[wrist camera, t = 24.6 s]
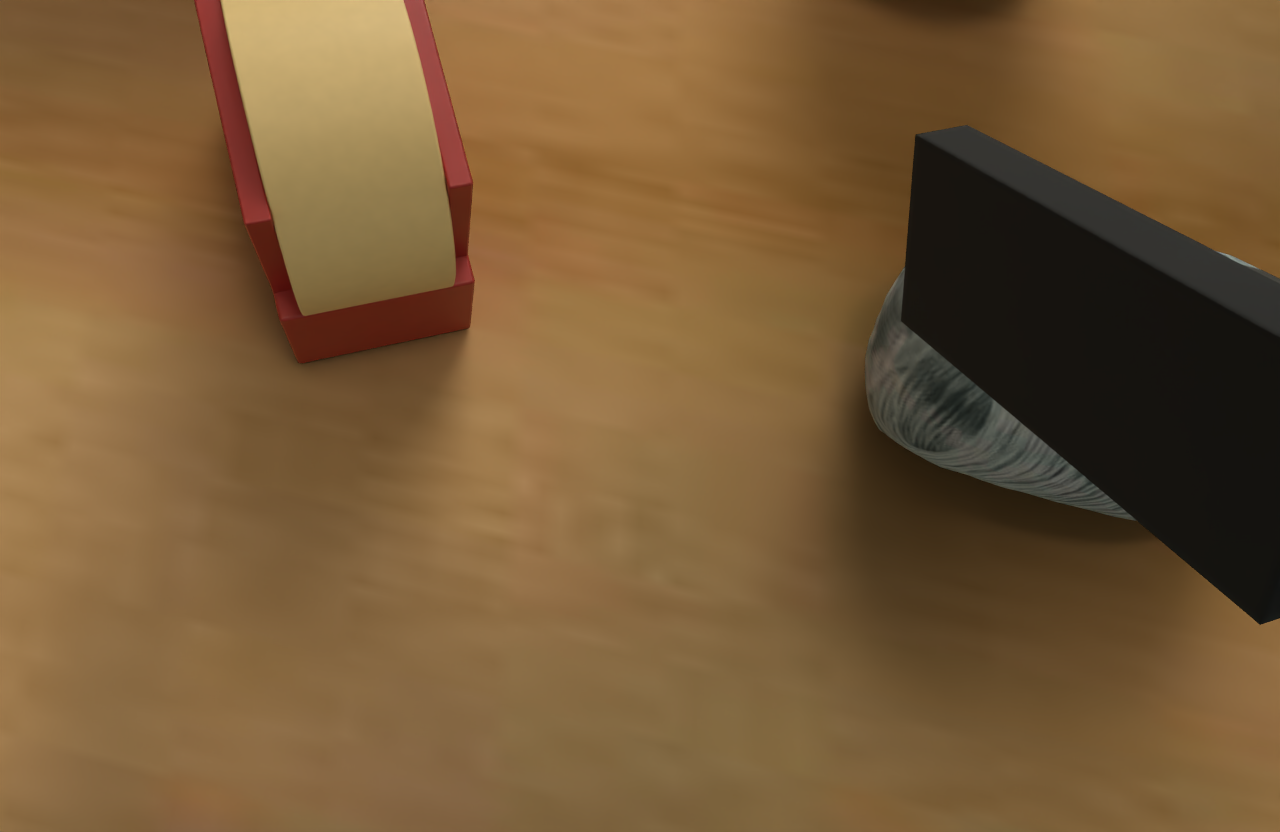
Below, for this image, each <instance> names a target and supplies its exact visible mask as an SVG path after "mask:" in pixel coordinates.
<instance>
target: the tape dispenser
mask: <svg viewBox="0 0 1280 832" xmlns="http://www.w3.org/2000/svg"><path fill="white" fill-rule="evenodd" d="M194 2H195V7H196V11H197V16H198V20H199V25H200V29H201V34H202V38H203V43H204V47H205V52H206V56H207V61H208V65H209V69H210V74H211V78H212V83H213V87H214V92H215V96H216V101H217V105H218V110H219V114H220V119H221V123H222V128H223V132H224V136H225V141H226V145H227V150H228V154H229V159H230V163H231V168H232V172H233V177H234V181H235V186H236V190H237V195H238V199H239V203H240V208H241V212H242V217H243V221H244V225H245V227H246V230H247V232H248V234H249V237H250V239H251V241H252V244H253V246H254V249H255V251H256V253H257V256H258V258H259V260H260V263H261V265H262V267H263V270H264V272H265V275H266V277H267V279H268V282H269V284H270V286H271V289H272V291H273V294H274V299H275V303H276V308H277V312H278V317H279V320H280V323H281V325H282V327H283V329H284V332H285V334H286V336H287V339H288V341H289V343H290V346H291V348H292V350H293V352H294V355H295V357H296V359H297V361H298V363H305V362H310V361H315V360H319V359H324V358H329V357H334V356H338V355H343V354H348V353H353V352H357V351H362V350H367V349H372V348H377V347H381V346H386V345H391V344H396V343H400V342H405V341H410V340H415V339H419V338H424V337H429V336H434V335H438V334H443V333H448V332H453V331H457V330H462V329H467V328H469V327H470V323H471V312H472V302H473V292H474V281H475V280H474V276H473V273H472V269H471V265H470V261H469V257H468V243H469V230H470V216H471V203H472V189H473V181H472V177H471V173H470V170H469V166H468V162H467V158H466V155H465V151H464V147H463V144H462V140H461V136H460V132H459V129H458V125H457V121H456V117H455V114H454V110H453V106H452V103H451V99H450V95H449V91H448V88H447V84H446V80H445V76H444V73H443V69H442V65H441V62H440V58H439V54H438V50H437V47H436V43H435V39H434V36H433V32H432V28H431V24H430V21H429V17H428V13H427V9H426V6H425V2H424V0H194Z"/></svg>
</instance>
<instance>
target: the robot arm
mask: <svg viewBox="0 0 1280 832" xmlns="http://www.w3.org/2000/svg"><path fill="white" fill-rule="evenodd" d="M901 322H902V323H903V324H905V325H906V326H907V327H908V328H909V329H911V330H912V331H913V332H914V333H915V334H916V335H918V336H919V337H920V338H921V339H922V340H924V341H925V342H926V343H927V344H928V345H930V346H931V347H932V348H933V349H934V350H935V351H937V352H938V353H939V354H940V355H941V356H943V357H944V358H945V359H946V360H947V361H948V362H950V363H951V364H952V365H953V366H954V367H956V368H957V369H958V370H959V371H960V372H961V373H963V374H964V375H965V376H966V377H967V378H969V379H970V380H971V381H972V382H973V383H975V384H976V385H977V386H978V387H979V388H980V389H982V390H983V391H984V392H985V393H986V394H988V395H989V396H990V397H991V398H992V399H993V400H995V401H996V402H997V403H998V404H999V405H1001V406H1002V407H1003V408H1004V409H1005V410H1006V411H1008V412H1009V413H1010V414H1011V415H1012V416H1014V417H1015V418H1016V419H1017V420H1018V421H1020V422H1021V423H1022V424H1023V425H1024V426H1025V427H1027V428H1028V429H1029V430H1030V431H1031V432H1033V433H1034V434H1035V435H1036V436H1037V437H1038V438H1040V439H1041V440H1042V441H1043V442H1044V443H1046V444H1047V445H1048V446H1049V447H1050V448H1051V449H1053V450H1054V451H1055V452H1056V453H1057V454H1059V455H1060V456H1061V457H1062V458H1063V459H1065V460H1066V461H1067V462H1068V463H1069V464H1070V465H1072V466H1073V467H1074V468H1075V469H1076V470H1078V471H1079V472H1080V473H1081V474H1082V475H1083V476H1085V477H1086V478H1087V479H1088V480H1089V481H1091V482H1092V483H1093V484H1094V485H1095V486H1096V487H1098V488H1099V489H1100V490H1101V491H1102V492H1104V493H1105V494H1106V495H1107V496H1108V497H1110V498H1111V499H1112V500H1113V501H1114V502H1115V503H1117V504H1118V505H1119V506H1120V507H1121V508H1123V509H1124V510H1125V511H1126V512H1127V513H1128V514H1130V515H1131V516H1132V517H1133V518H1134V519H1136V520H1137V521H1138V522H1139V523H1140V524H1141V525H1143V526H1144V527H1145V528H1146V529H1147V530H1149V531H1150V532H1151V533H1152V534H1153V535H1155V536H1156V537H1157V538H1158V539H1159V540H1160V541H1162V542H1163V543H1164V544H1165V545H1166V546H1168V547H1169V548H1170V549H1171V550H1172V551H1173V552H1175V553H1176V554H1177V555H1178V556H1179V557H1181V558H1182V559H1183V560H1184V561H1185V562H1186V563H1188V564H1189V565H1190V566H1191V567H1192V568H1194V569H1195V570H1196V571H1197V572H1198V573H1200V574H1201V575H1202V576H1203V577H1204V578H1205V579H1207V580H1208V581H1209V582H1210V583H1211V584H1213V585H1214V586H1215V587H1216V588H1217V589H1218V590H1220V591H1221V592H1222V593H1223V594H1224V595H1226V596H1227V597H1228V598H1229V599H1230V600H1231V601H1233V602H1234V603H1235V604H1236V605H1237V606H1239V607H1240V608H1241V609H1242V610H1243V611H1245V612H1246V613H1247V614H1248V615H1249V616H1250V617H1252V618H1253V619H1254V620H1255V621H1256V622H1258V623H1259V624H1260V625H1261V624H1264V623H1267V622H1270V621H1273V620H1276V619H1279V618H1280V279H1279V278H1277V277H1275V276H1273V275H1271V274H1269V273H1267V272H1265V271H1263V270H1260V269H1256V268H1253V267H1249V266H1246V265H1242V264H1240V263H1238V262H1236V261H1234V260H1232V259H1230V258H1228V257H1226V256H1224V255H1222V254H1220V253H1218V252H1216V251H1214V250H1212V249H1210V248H1208V247H1206V246H1204V245H1202V244H1201V243H1199V242H1197V241H1195V240H1193V239H1191V238H1189V237H1187V236H1185V235H1183V234H1181V233H1179V232H1177V231H1175V230H1173V229H1171V228H1169V227H1167V226H1165V225H1163V224H1161V223H1159V222H1157V221H1155V220H1153V219H1151V218H1149V217H1147V216H1145V215H1143V214H1141V213H1139V212H1137V211H1135V210H1133V209H1131V208H1129V207H1128V206H1126V205H1124V204H1122V203H1120V202H1118V201H1116V200H1114V199H1112V198H1110V197H1108V196H1106V195H1104V194H1102V193H1100V192H1098V191H1096V190H1094V189H1092V188H1090V187H1088V186H1086V185H1084V184H1082V183H1080V182H1078V181H1076V180H1074V179H1072V178H1070V177H1068V176H1066V175H1064V174H1062V173H1060V172H1058V171H1056V170H1055V169H1053V168H1051V167H1049V166H1047V165H1045V164H1043V163H1041V162H1039V161H1037V160H1035V159H1033V158H1031V157H1029V156H1027V155H1025V154H1023V153H1021V152H1019V151H1017V150H1015V149H1013V148H1011V147H1009V146H1007V145H1005V144H1003V143H1001V142H999V141H997V140H995V139H993V138H991V137H989V136H987V135H985V134H983V133H981V132H980V131H978V130H976V129H974V128H972V127H970V126H968V125H965V126H959V127H954V128H948V129H943V130H938V131H932V132H927V133H921V134H916V135H915V147H914V159H913V172H912V185H911V197H910V210H909V223H908V236H907V248H906V261H905V274H904V286H903V299H902V312H901Z"/></svg>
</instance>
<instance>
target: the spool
mask: <svg viewBox="0 0 1280 832" xmlns="http://www.w3.org/2000/svg"><path fill="white" fill-rule="evenodd" d="M1216 252H1217V251H1216ZM1218 253H1220V254H1222V255H1224V256H1226V257H1228V258H1230V259H1232V260H1234V261H1236V262H1238V263H1240V264H1242V265H1246V266H1249V267H1253V268H1256V267H1254V266H1252V265H1250V264H1248V263H1246V262H1244V261H1242V260H1239V259H1237V258H1235V257H1233V256H1231V255H1228V254H1224V253H1221V252H1218ZM1256 269H1258V268H1256ZM904 274H905V267H904V268H903V270H902V271H901V273H900V275H899V276H898V278H897V279H896V281H895V282H894V284H893V285H892V287H891V289H890V290H889V292H888V294H887V295H886V298H885V301H884V303H883V306H882V309H881V311H880V313H879V315H878V317H877V319H876V323H875V326H874V329H873V332H872V334H871V336H870V338H869V342H868V347H867V352H866V357H865V387H866V393H867V399H868V405H869V410H870V412H871V415H872V417H873V419H874V422H875V423H876V425H877V427H878V428H879V430H880V431H882V432H883V433H885V434H886V435H887V436H889V437H890V438H891V439H893V440H894V441H895V442H896V443H898V444H899V445H901V446H903V447H904V448H906V449H908V450H909V451H911V452H913V453H914V454H916V455H918V456H920V457H922V458H924V459H925V460H927V461H929V462H931V463H933V464H935V465H937V466H939V467H941V468H945V469H948V470H952V471H956V472H959V473H963V474H966V475H969V476H972V477H974V478H977V479H979V480H982V481H985V482H988V483H991V484H994V485H997V486H1000V487H1003V488H1007V489H1012V490H1016V491H1020V492H1024V493H1028V494H1031V495H1034V496H1038V497H1041V498H1044V499H1048V500H1051V501H1054V502H1058V503H1062V504H1066V505H1070V506H1075V507H1079V508H1083V509H1087V510H1091V511H1095V512H1098V513H1102V514H1106V515H1110V516H1114V517H1119V518H1124V519H1129V520H1135V521H1137V520H1136V519H1134V518H1133V517H1132V516H1131V515H1130V514H1128V513H1127V512H1126V511H1125V510H1124V509H1123V508H1121V507H1120V506H1119V505H1118V504H1117V503H1115V502H1114V501H1113V500H1112V499H1111V498H1110V497H1108V496H1107V495H1106V494H1105V493H1104V492H1102V491H1101V490H1100V489H1099V488H1098V487H1096V486H1095V485H1094V484H1093V483H1092V482H1091V481H1089V480H1088V479H1087V478H1086V477H1085V476H1083V475H1082V474H1081V473H1080V472H1079V471H1078V470H1076V469H1075V468H1074V467H1073V466H1072V465H1070V464H1069V463H1068V462H1067V461H1066V460H1065V459H1063V458H1062V457H1061V456H1060V455H1059V454H1057V453H1056V452H1055V451H1054V450H1053V449H1051V448H1050V447H1049V446H1048V445H1047V444H1046V443H1044V442H1043V441H1042V440H1041V439H1040V438H1038V437H1037V436H1036V435H1035V434H1034V433H1033V432H1031V431H1030V430H1029V429H1028V428H1027V427H1025V426H1024V425H1023V424H1022V423H1021V422H1020V421H1018V420H1017V419H1016V418H1015V417H1014V416H1012V415H1011V414H1010V413H1009V412H1008V411H1006V410H1005V409H1004V408H1003V407H1002V406H1001V405H999V404H998V403H997V402H996V401H995V400H993V399H992V398H991V397H990V396H989V395H988V394H986V393H985V392H984V391H983V390H982V389H980V388H979V387H978V386H977V385H976V384H975V383H973V382H972V381H971V380H970V379H969V378H967V377H966V376H965V375H964V374H963V373H961V372H960V371H959V370H958V369H957V368H956V367H954V366H953V365H952V364H951V363H950V362H948V361H947V360H946V359H945V358H944V357H943V356H941V355H940V354H939V353H938V352H937V351H935V350H934V349H933V348H932V347H931V346H930V345H928V344H927V343H926V342H925V341H924V340H922V339H921V338H920V337H919V336H918V335H916V334H915V333H914V332H913V331H912V330H911V329H909V328H908V327H907V326H906V325H905V324H903V323H902V322H901V312H902V299H903V286H904Z"/></svg>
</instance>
